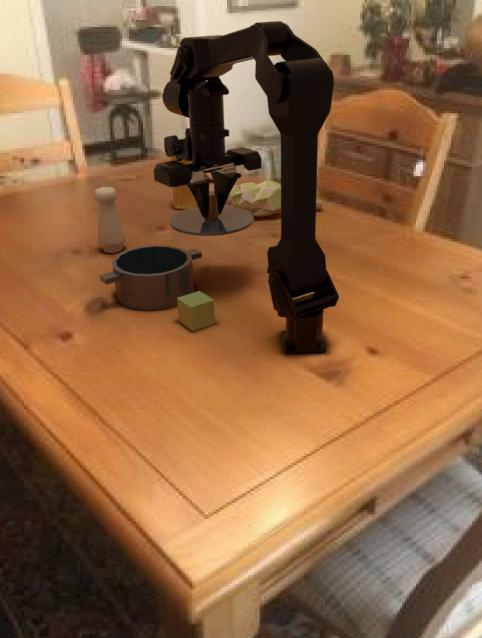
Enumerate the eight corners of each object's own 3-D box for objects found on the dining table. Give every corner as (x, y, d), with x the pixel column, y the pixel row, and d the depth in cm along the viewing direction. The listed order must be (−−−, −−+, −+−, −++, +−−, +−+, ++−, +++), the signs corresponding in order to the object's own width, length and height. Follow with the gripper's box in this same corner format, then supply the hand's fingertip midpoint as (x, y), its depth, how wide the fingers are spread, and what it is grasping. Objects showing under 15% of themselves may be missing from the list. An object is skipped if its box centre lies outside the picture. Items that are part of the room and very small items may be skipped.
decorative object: (311, 199, 156) (214, 188, 149) (327, 178, 147) (225, 165, 140) (314, 231, 154) (216, 221, 146) (330, 211, 145) (227, 200, 137)
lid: (270, 226, 110) (270, 194, 107) (199, 246, 102) (197, 212, 99) (222, 206, 120) (221, 176, 117) (154, 222, 112) (151, 191, 109)
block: (215, 323, 103) (213, 299, 101) (192, 331, 101) (190, 307, 99) (201, 313, 106) (199, 290, 104) (178, 321, 104) (176, 297, 102)
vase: (170, 204, 157) (165, 146, 149) (192, 201, 159) (188, 143, 151) (178, 211, 152) (173, 151, 145) (201, 207, 154) (197, 148, 147)
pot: (220, 291, 114) (219, 258, 110) (124, 322, 104) (119, 287, 101) (181, 267, 123) (179, 236, 120) (90, 293, 114) (84, 260, 110)
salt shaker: (93, 251, 131) (83, 190, 124) (110, 242, 135) (102, 182, 128) (115, 256, 129) (107, 194, 122) (132, 247, 133) (124, 186, 126)
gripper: (225, 109, 112) (228, 195, 120) (132, 123, 103) (143, 215, 111) (263, 117, 104) (263, 209, 113) (167, 133, 95) (175, 232, 103)
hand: (211, 215), depth 110 cm, fingers closed on lid, 2 cm apart
